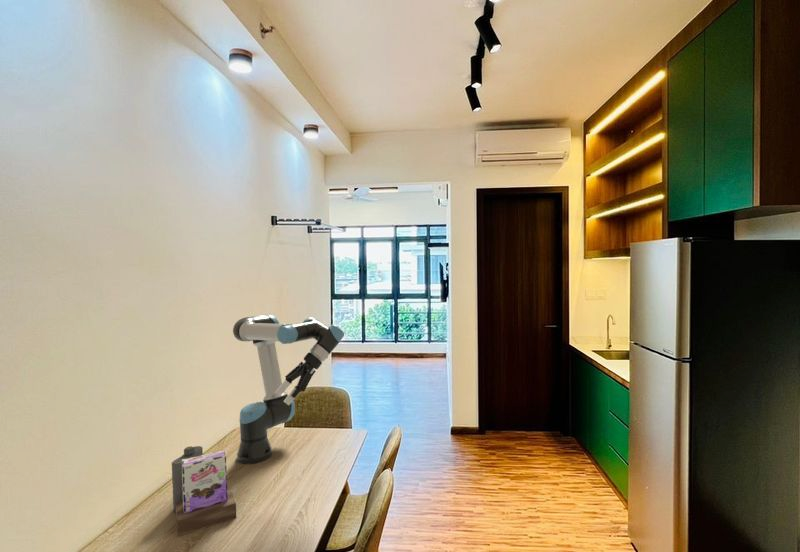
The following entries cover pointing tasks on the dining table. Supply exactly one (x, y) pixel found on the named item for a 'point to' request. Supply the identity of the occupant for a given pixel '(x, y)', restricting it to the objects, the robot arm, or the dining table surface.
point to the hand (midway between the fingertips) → (281, 398)
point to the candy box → (204, 481)
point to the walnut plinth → (205, 515)
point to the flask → (177, 472)
